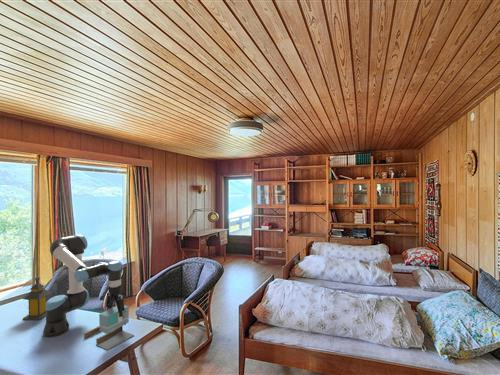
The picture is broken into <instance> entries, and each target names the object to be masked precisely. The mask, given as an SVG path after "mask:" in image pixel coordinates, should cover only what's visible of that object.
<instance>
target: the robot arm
mask: <svg viewBox="0 0 500 375" xmlns="http://www.w3.org/2000/svg"><path fill="white" fill-rule="evenodd" d="M87 248H88V240H87V237H85V236H84V235H82V234H73V235H69V236H63V237H58V238H56V239H55V240H53V241H52V243H51V244H50V247H49V252H50V255H51V256H52V257H53V258H54V259H56V260H57V259H58V260H59V261H60V262H62V264H64V265H65V266H66V267H67V269H68V290H66V295H65V294H59V295H54V296H53V297H51V298H49V299H48V300H47V302H46V307H45V309H46V317H45V325H44V327H43V330H42V335H43V337H45V338H52V337H53V338H54V337H58V336H60V335H64V334H65V333H67V332H68V331H69V329H70V323H69V321H68V318H67V313H70V312H73V311H76V310H78V309H82V308H83V307H85V306H86V305H87V304H88V303H89V300H90V294H89V291H88V290H87V289H86V288H85V287H84V282H86V281H88V280H91V279H94V278H98V277H101V276H107V278H108V280H107V281H108V282H107V283H108V288H107V289H108V292H106V302H105V307H106V308H107V307H108V310H109V309H111V308H113V307H114V303H115V304H116V306H117V308H118V322H120V321H122V311H124V310H125V308H124V305H125V303H124V295H122V294H121V293H120V292H122V263H121V262H120V261H119V260H113V261H110V262H105V261H100V262H98V263H97V264H96V265H90V266H88V265H87V264H85V263H84V262H83V254H85V250H86V249H87ZM120 294H121V295H120Z"/></svg>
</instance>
